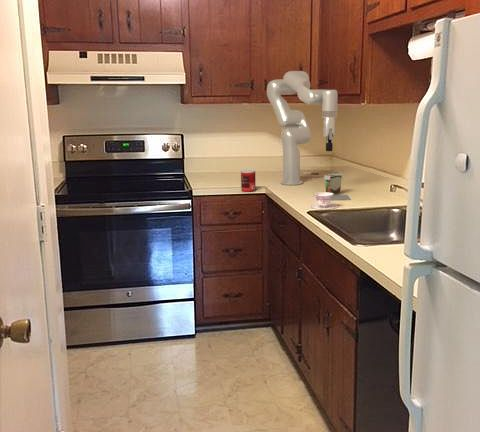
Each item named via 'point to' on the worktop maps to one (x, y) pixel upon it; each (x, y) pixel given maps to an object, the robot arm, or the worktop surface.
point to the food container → (333, 183)
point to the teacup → (323, 201)
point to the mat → (339, 197)
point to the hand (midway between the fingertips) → (329, 150)
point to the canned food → (248, 181)
